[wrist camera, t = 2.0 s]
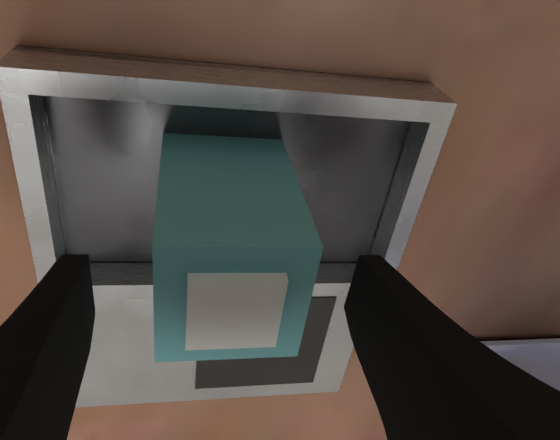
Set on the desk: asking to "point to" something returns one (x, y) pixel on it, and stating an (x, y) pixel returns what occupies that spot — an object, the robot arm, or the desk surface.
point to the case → (213, 122)
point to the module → (230, 250)
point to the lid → (207, 373)
